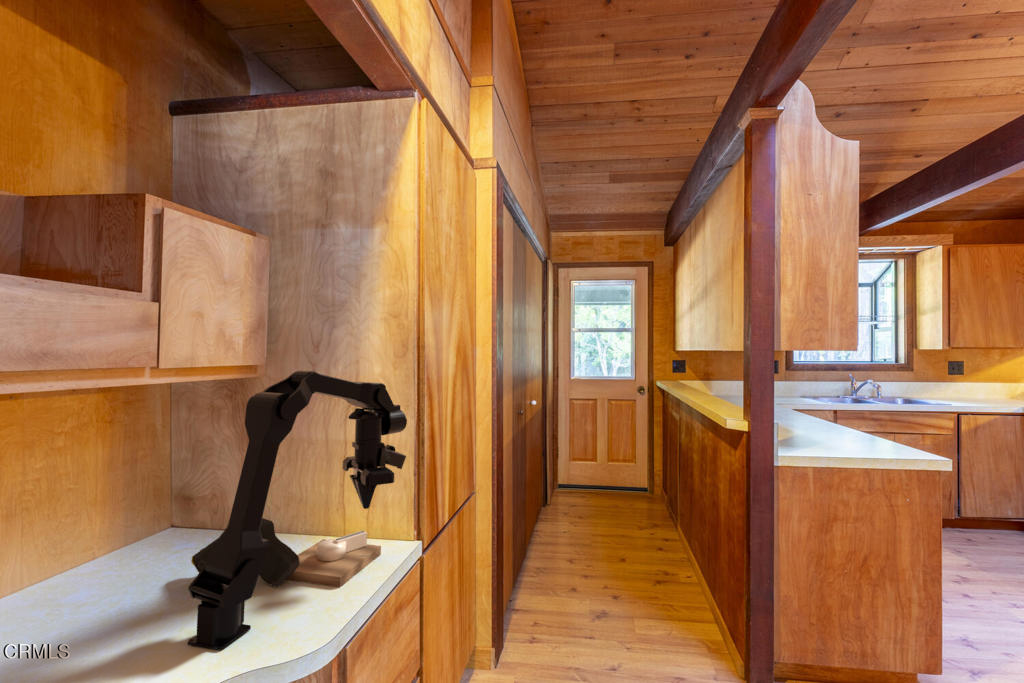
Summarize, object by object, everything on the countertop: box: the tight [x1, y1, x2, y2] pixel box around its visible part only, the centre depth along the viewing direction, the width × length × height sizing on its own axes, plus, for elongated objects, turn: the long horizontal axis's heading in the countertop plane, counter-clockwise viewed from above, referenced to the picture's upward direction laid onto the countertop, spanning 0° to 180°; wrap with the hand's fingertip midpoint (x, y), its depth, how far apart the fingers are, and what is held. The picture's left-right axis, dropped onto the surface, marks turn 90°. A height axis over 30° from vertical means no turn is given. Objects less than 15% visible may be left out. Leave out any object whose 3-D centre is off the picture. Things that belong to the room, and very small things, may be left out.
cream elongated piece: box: [316, 530, 368, 561], centre depth 110 cm, size 12×6×3 cm, turn 142°
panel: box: [286, 539, 382, 588], centre depth 108 cm, size 17×15×2 cm
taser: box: [190, 517, 300, 588], centre depth 100 cm, size 4×18×15 cm
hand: (366, 508), depth 110 cm, fingers closed
